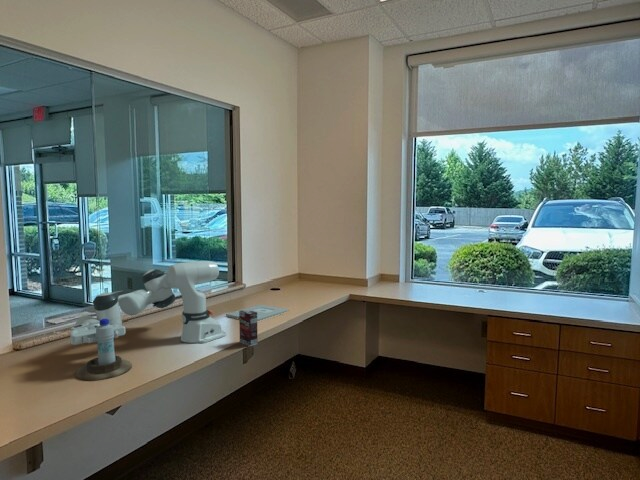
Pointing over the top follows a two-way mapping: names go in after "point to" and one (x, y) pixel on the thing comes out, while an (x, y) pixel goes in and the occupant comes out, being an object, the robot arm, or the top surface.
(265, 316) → the award plaque
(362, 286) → the top surface
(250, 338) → the supplement box
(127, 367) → the coaster
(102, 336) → the bottle
